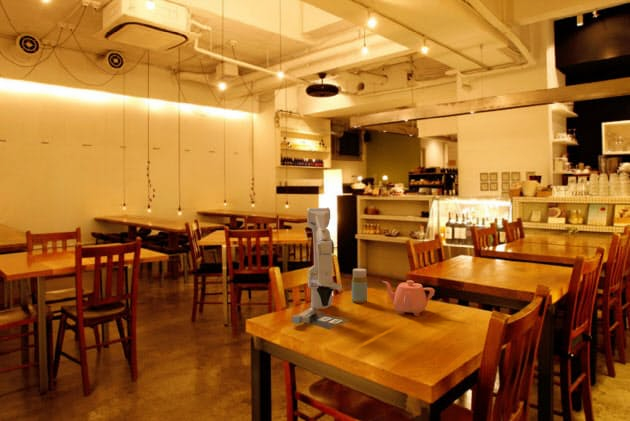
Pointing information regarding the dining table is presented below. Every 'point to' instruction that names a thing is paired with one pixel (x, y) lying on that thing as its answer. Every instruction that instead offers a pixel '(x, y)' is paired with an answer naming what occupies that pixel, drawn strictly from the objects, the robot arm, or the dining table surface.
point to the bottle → (359, 286)
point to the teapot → (409, 297)
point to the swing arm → (304, 315)
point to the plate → (314, 321)
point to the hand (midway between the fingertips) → (325, 305)
